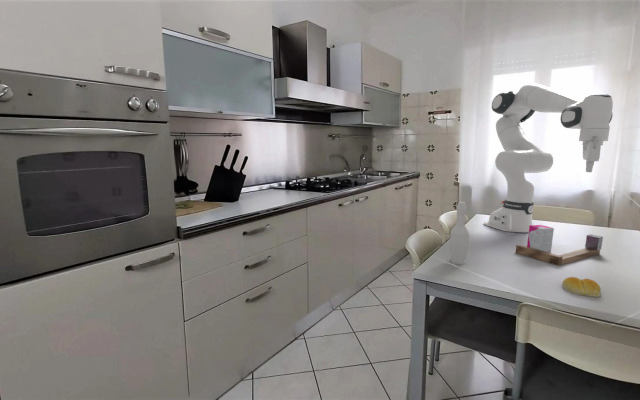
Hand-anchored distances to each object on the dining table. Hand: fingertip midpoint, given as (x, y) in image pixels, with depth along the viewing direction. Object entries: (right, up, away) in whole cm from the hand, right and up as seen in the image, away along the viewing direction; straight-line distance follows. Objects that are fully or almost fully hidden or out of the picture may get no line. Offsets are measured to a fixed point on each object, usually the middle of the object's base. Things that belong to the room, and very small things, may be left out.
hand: (588, 172), depth 133 cm
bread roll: (-30, -38, -35) cm, 60 cm away
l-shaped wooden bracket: (-14, -32, -3) cm, 35 cm away
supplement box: (-23, -33, -5) cm, 40 cm away
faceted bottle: (-57, -34, -13) cm, 68 cm away
